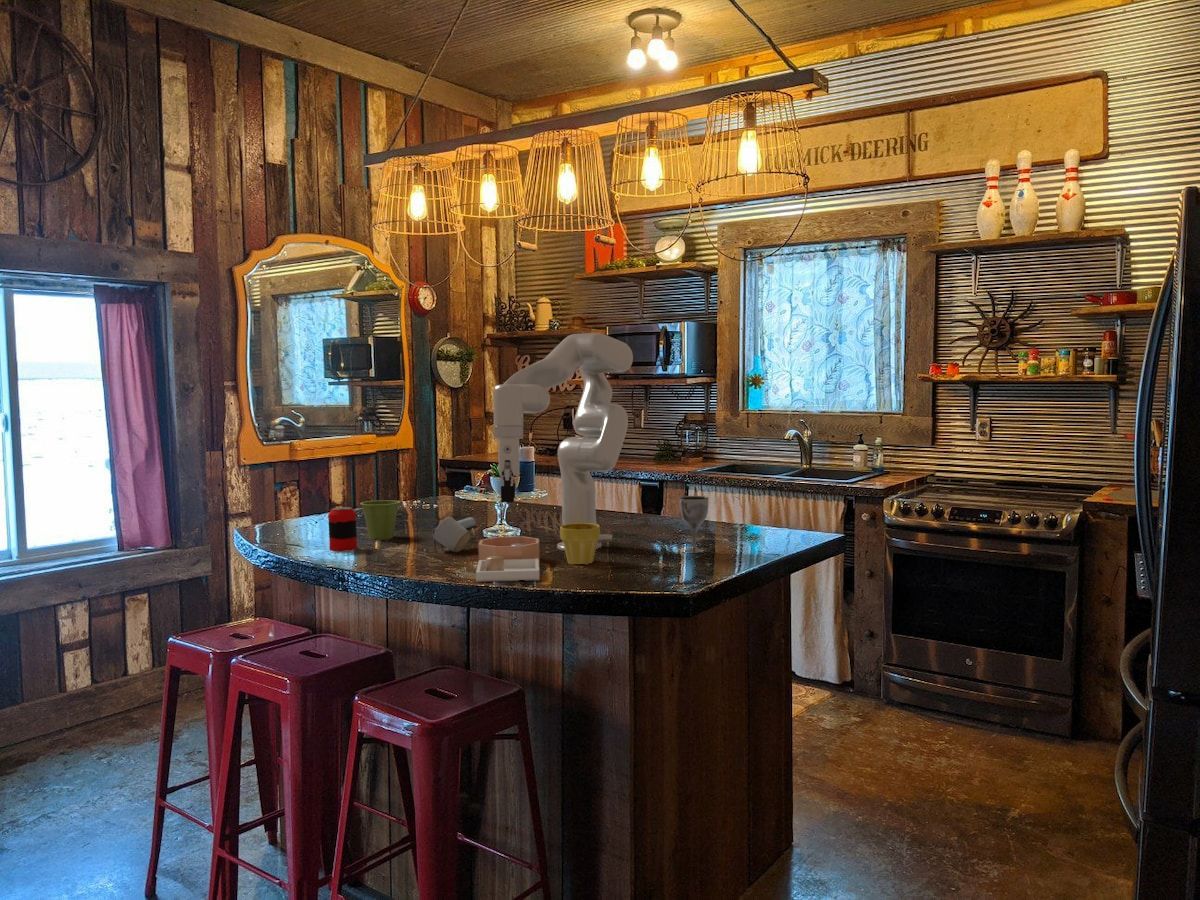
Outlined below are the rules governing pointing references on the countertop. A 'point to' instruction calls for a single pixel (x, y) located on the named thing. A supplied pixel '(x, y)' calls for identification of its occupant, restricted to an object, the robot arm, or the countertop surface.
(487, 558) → the tan pebble
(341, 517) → the soda can
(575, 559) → the plant pot
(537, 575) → the parts tray
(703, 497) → the wine glass
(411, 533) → the countertop surface
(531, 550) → the bowl
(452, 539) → the ceramic mug
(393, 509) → the plant pot
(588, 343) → the robot arm
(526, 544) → the slate pebble
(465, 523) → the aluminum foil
